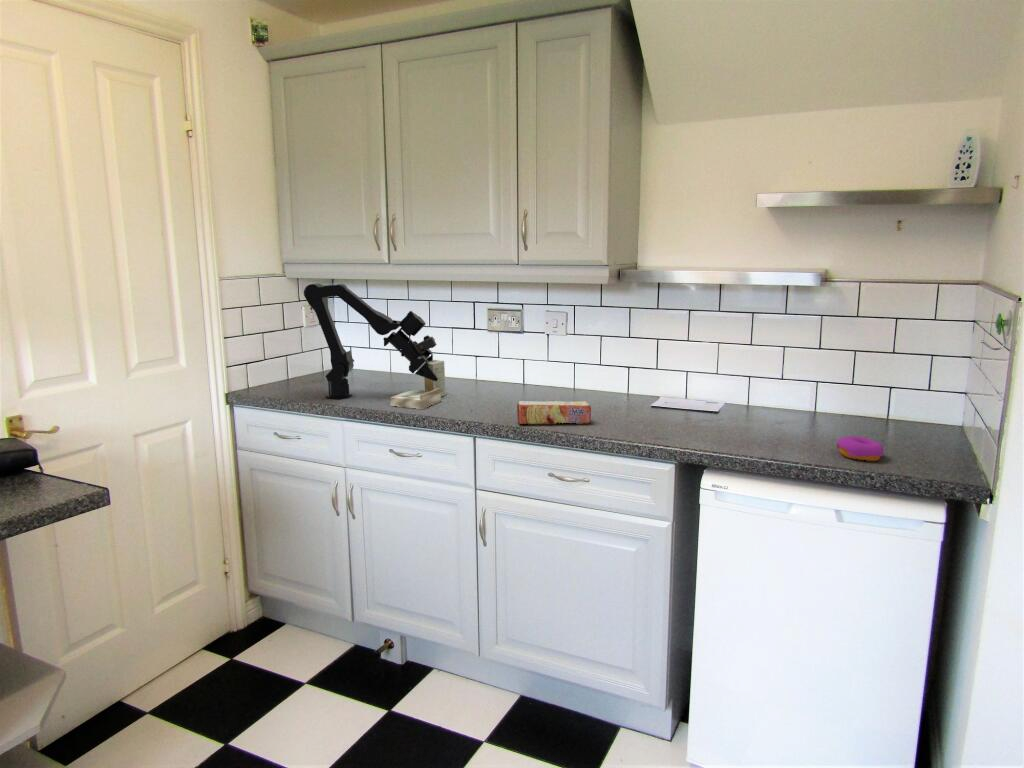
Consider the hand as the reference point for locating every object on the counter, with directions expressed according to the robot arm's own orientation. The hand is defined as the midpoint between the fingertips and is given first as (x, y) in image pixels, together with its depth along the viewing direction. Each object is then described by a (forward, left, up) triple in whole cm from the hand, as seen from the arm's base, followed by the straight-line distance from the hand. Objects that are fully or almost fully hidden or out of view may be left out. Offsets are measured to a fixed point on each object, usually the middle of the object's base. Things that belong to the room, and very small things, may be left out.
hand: (438, 377), depth 238 cm
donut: (+130, -6, -7) cm, 130 cm away
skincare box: (-1, -1, -7) cm, 7 cm away
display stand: (0, -13, -7) cm, 14 cm away
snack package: (+50, -13, -7) cm, 52 cm away
